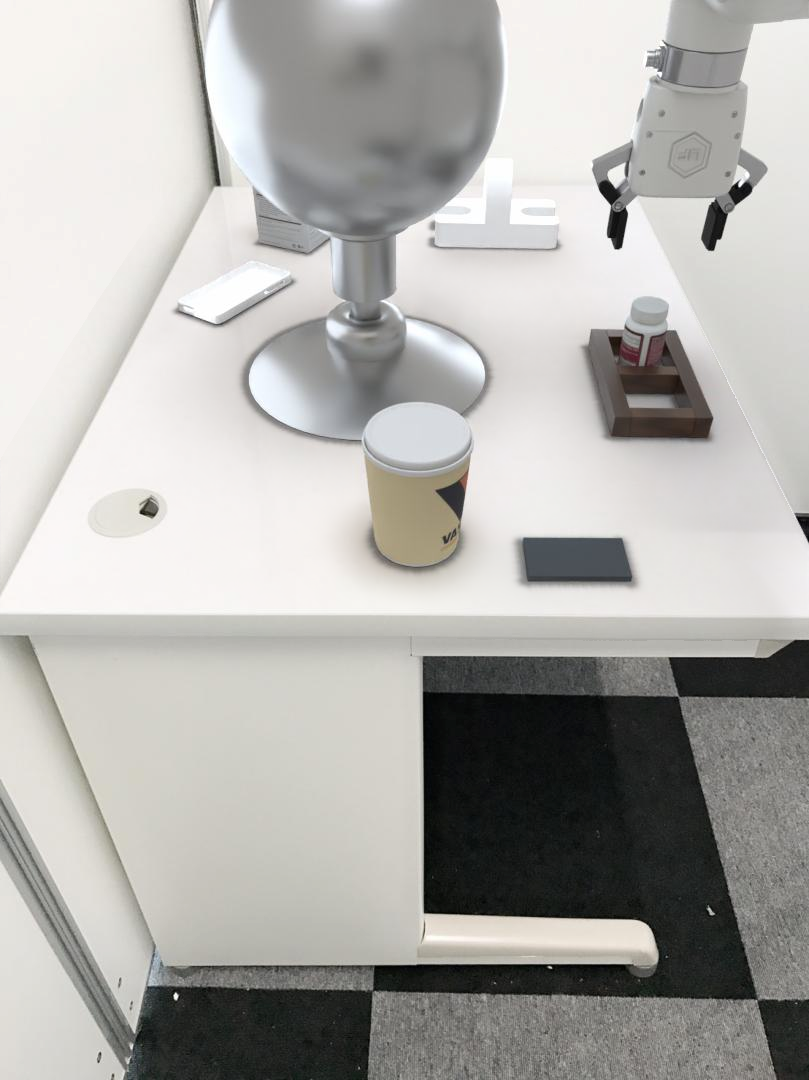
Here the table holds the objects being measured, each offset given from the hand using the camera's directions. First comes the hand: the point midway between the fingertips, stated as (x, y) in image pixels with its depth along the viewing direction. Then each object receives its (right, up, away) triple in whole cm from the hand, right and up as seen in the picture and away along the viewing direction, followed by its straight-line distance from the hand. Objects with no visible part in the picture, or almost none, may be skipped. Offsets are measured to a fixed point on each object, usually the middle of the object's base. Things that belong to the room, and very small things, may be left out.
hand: (661, 244), depth 90 cm
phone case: (-50, +1, +24) cm, 55 cm away
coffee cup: (-26, -31, -12) cm, 42 cm away
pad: (-12, -33, -14) cm, 38 cm away
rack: (0, -14, +7) cm, 16 cm away
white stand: (-14, +15, +39) cm, 44 cm away
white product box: (-43, +14, +38) cm, 59 cm away
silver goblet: (-32, -12, +10) cm, 35 cm away
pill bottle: (0, -11, +10) cm, 15 cm away
